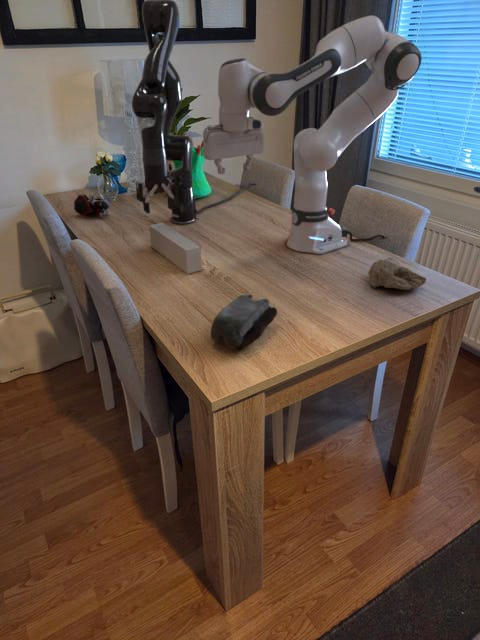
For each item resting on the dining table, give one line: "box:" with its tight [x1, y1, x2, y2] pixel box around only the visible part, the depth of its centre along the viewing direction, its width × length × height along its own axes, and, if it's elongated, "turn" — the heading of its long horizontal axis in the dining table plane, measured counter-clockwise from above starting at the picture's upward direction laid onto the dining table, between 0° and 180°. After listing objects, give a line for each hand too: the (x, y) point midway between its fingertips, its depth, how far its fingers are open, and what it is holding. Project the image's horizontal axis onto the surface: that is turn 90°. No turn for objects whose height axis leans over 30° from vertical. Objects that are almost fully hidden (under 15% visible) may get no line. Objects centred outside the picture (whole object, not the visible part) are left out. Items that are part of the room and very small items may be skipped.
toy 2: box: [168, 137, 212, 200], centre depth 210 cm, size 20×20×25 cm
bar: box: [148, 222, 203, 275], centre depth 151 cm, size 28×5×8 cm, turn 34°
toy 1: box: [73, 194, 111, 220], centre depth 187 cm, size 12×9×15 cm
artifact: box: [368, 257, 427, 291], centre depth 135 cm, size 18×8×15 cm
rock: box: [210, 294, 278, 352], centre depth 109 cm, size 18×11×8 cm, turn 152°
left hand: (159, 210), depth 152 cm, fingers open, 8 cm apart
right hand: (234, 171), depth 137 cm, fingers open, 8 cm apart
